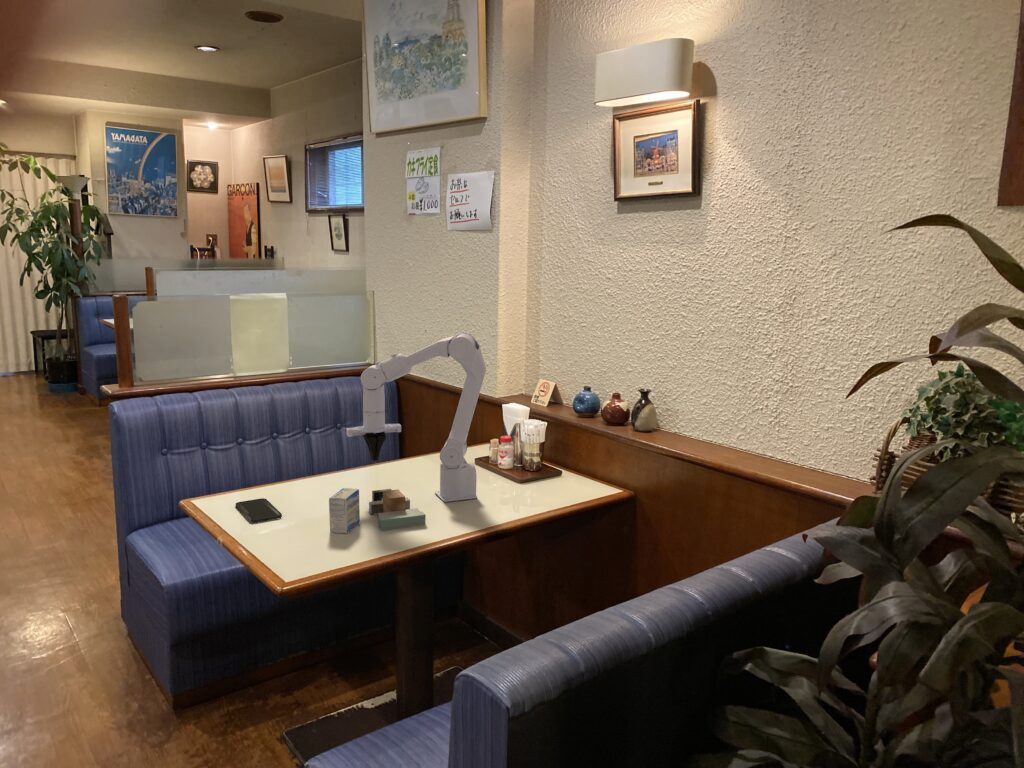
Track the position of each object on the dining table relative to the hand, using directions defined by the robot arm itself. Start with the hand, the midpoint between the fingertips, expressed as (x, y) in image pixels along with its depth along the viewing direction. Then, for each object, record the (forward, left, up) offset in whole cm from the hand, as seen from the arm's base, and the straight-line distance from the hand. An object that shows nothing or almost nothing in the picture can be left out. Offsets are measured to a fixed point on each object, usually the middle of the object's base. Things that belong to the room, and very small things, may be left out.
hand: (374, 459), depth 207 cm
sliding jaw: (0, +11, -9) cm, 15 cm away
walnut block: (0, +19, -10) cm, 21 cm away
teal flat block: (0, +24, -9) cm, 26 cm away
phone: (+31, +4, -10) cm, 33 cm away
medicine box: (+13, +22, -10) cm, 27 cm away
